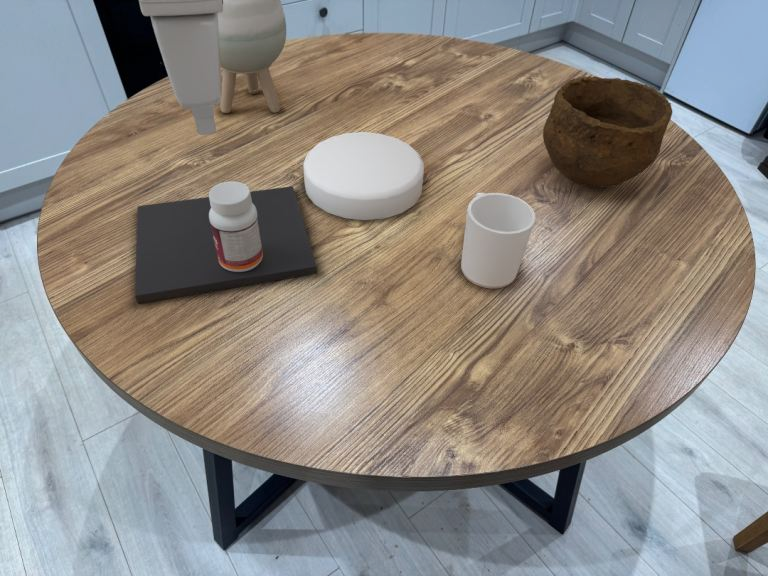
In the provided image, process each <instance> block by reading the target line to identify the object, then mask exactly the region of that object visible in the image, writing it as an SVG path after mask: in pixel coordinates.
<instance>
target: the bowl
mask: <svg viewBox="0 0 768 576" xmlns="http://www.w3.org/2000/svg"><path fill="white" fill-rule="evenodd" d="M671 104H672V103H671V102H669V100H668V99H667V97H666V96H665V95H664V94H662V92H659V91H658V90H657V89H655V88H654V87H652V86H648V85H647V84H643V83H641V82H638V81H633V80H629V79H621V78H619V77H614V78H612V77H611V78H607V77H599V76H590V75H589V76H585V75H584V76H578V77H576V78H575V77H574V78H572V79H569V80H568V81H566V82H565V83H564V84H563V85H562V86H560V88H559V89H557V92H556V93H555V95H554V99H553V103H552V104H551V108H550V111H549V113H548V116H547V117H546V120H545V123H544V126H543V128H542V129H543V130H542V139H543V143H544V146H545V149H546V152H547V154H548V156H549V159H550V161H551V163H552V164H553V166H554V167H555V169H556V170H557V171H558V172H559V173H560V174H561V175H562V176H564V177H565V178H566V179H568V180H569V181H570V182H572V183H574V184H577V185H581V186H584V187H588V188H609V187H615V186H620V185H622V184H623V183H627V182H628V181H630V180H632V179H634V178H636V177H637V176H639V175H640V174H642V173H643V172H644V171H646V170H647V169H648V168H649V167H650V166H652V164H654V162H655V161H656V159H657V157H658V156H659V155H660V153H661V147H662V144H663V140H664V136H665V134H666V131H667V129H668V125H669V123H670V122H671V119H672V115H673V108H672V105H671Z"/></svg>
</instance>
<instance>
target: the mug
mask: <svg viewBox="0 0 768 576" xmlns="http://www.w3.org/2000/svg"><path fill="white" fill-rule="evenodd" d="M535 222H536V213H535V211H534V209H533V207H532V206H531V204H528V203H527V201H525V200H523V199H521V198H519V197H517V196H515V195H511V194H508V193H503V192H487V193H485V192H478V193H475V196H474V198H472V199H471V200H470V202H469V203H468V206H467V209H466V217H465V227H464V234H463V244H462V251H461V252H462V253H461V261H460V269H461V272H462V274H463V276H464V277H465V278H466V279H467V280H468V281H469V282H470V283H472V284H473V285H475V286H478V287H480V288H483V289H489V290H491V289H492V290H495V289H502V288H505V287H507V286H509V285H510V284H512V283H513V282H514V281H515V280H516V278H517V275H518V272H519V270H520V267H521V263H522V260H523V258H524V255H525V252H526V249H527V246H528V243H529V240H530V237H531V235H532V232H533V228H534V225H535Z"/></svg>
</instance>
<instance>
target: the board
mask: <svg viewBox="0 0 768 576" xmlns="http://www.w3.org/2000/svg"><path fill="white" fill-rule="evenodd" d="M250 193H251V199H252V203H253V204H254V205H255V207H256V210H257V216H258V224H259V231H260V238H261V244H262V251H263V257H262V260H261V262H260V263H259V264H258V265H257V266H256V267H255V268H253V269H251V270H249V271H245V272H232V271H229V270H226V269H225V268H223V267H222V266H221V265H220V263H219V260H218V256H217V252H216V247H215V242H214V238H213V233H212V228H211V224H210V220H209V212H210V209H211V205H210V199H209V196H205V197H198V198H197V197H196V198H191V199H183V200H176V201H168V202H167V201H166V202H159V203H151V204H144V205H137V209H136V210H137V213H136V248H135V277H134V278H135V280H134V281H135V282H134V297H135V300H136V302H137V304H142V303H149V302H154V301H155V302H156V301H161V300H167V299H173V298H179V297H180V298H181V297H185V296H191V295H197V294H204V293H210V292H216V291H221V290H228V289H234V288H240V287H245V286H251V285H252V286H253V285H258V284H264V283H270V282H276V281H282V280H288V279H294V278H301V277H305V276H313V275H317V274H318V266H317V262H316V258H315V255H314V252H313V249H312V246H311V243H310V238H309V235H308V232H307V228H306V226H305V222H304V219H303V216H302V212H301V209H300V206H299V205H300V204H299V202H298V199H297V195H296V192H295V188H294V186H292V185H291V186H284V187H276V188H269V189H261V190H252V191H250Z"/></svg>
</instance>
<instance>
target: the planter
mask: <svg viewBox="0 0 768 576" xmlns="http://www.w3.org/2000/svg"><path fill="white" fill-rule="evenodd" d="M218 29H219V49H220V68H221V69H222V76H221V101H220V112H221V113H223V114H229V113H231V111H232V108H233V102H234V94H235V89H236V82H237V75H238V74H240V75H244V78H245V82H246V87H247V90H248V89H249V90H248V93H250V94H253V95H255V94H257V93H259V85H260V88H261V90H262V92H263V95H264V98H265V101H266V103H267V106H268V109H269V111H270V112H271V113H275V114H276V113H279V112H280V111H281V105H280V101H279V97H278V95H277V91H276V89H275V85H274V82H273V77H272V74H271V70H270V67H271V66H272V65H273V64H274V63H275V62H276V61H277V59H278V58H279V56H280V55H281V53H282V52H283V50H284V47H285V46H286V45H285V44H286V41H287V21H286V15H285V11H284V7H283V4H282V2H281V0H223V11H222V12H219V13H218ZM257 89H258V90H257ZM250 90H251V91H250ZM253 90H256V91H253Z"/></svg>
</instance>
